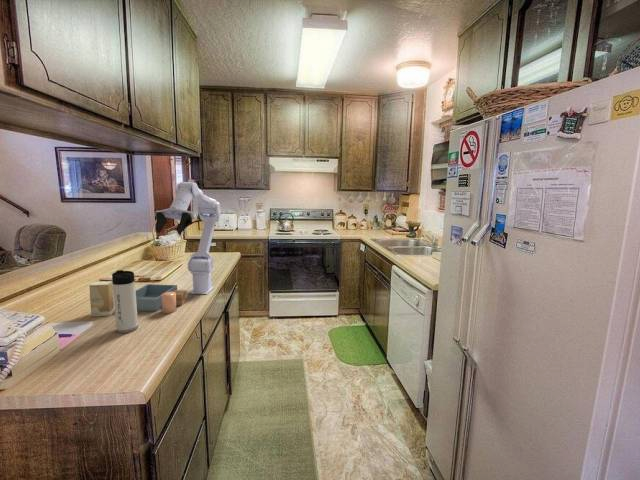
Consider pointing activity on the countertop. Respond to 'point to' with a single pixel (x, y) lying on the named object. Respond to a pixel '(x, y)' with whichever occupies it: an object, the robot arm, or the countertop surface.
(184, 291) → the walnut cube
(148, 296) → the tote
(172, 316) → the countertop surface
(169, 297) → the terracotta capsule
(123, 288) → the travel mug
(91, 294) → the skincare box
